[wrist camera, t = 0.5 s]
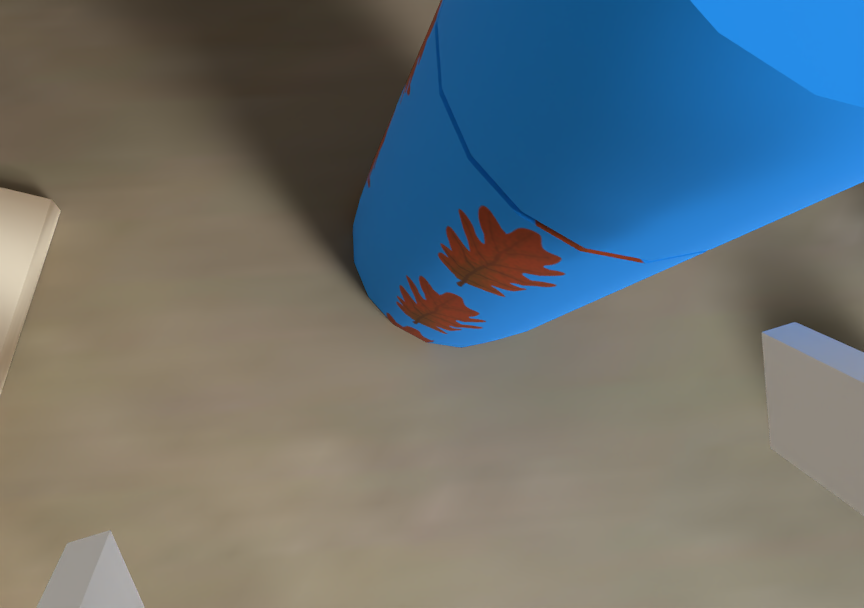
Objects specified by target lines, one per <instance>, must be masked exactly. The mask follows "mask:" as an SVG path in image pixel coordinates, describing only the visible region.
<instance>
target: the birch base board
mask: <svg viewBox="0 0 864 608" xmlns="http://www.w3.org/2000/svg"><path fill="white" fill-rule="evenodd" d="M60 212H61V211H60V209H59V208H58V207H57V206H56V204H55V203H54V202H53V200H51V199H47V198H43V197H39V196H35V195H31V194H26V193H22V192H18V191H14V190H10V189H5V188H1V187H0V395H1V392H2V389H3V386H4V383H5V380H6V377H7V374H8V371H9V368H10V365H11V362H12V359H13V355H14V352H15V349H16V346H17V343H18V340H19V337H20V334H21V331H22V328H23V325H24V322H25V319H26V316H27V313H28V310H29V307H30V304H31V301H32V298H33V294H34V291H35V288H36V285H37V282H38V279H39V276H40V273H41V270H42V267H43V264H44V261H45V258H46V255H47V252H48V249H49V246H50V243H51V240H52V236H53V233H54V230H55V227H56V224H57V221H58V218H59V215H60Z"/></svg>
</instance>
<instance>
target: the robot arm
mask: <svg viewBox="0 0 864 608" xmlns="http://www.w3.org/2000/svg"><path fill="white" fill-rule="evenodd" d="M762 344H763V358H764V371H765V384H766V397H767V411H768V424H769V437H770V448H771V449H772V450H774V451H775V452H777V453H778V454H779V455H781V456H782V457H783V458H785V459H786V460H788V461H789V462H790V463H792V464H793V465H794V466H796V467H797V468H799V469H800V470H801V471H803V472H804V473H805V474H807V475H808V476H810V477H811V478H812V479H814V480H815V481H816V482H818V483H819V484H821V485H822V486H823V487H825V488H826V489H827V490H829V491H830V492H832V493H833V494H834V495H836V496H837V497H838V498H840V499H841V500H843V501H844V502H845V503H847V504H848V505H849V506H851V507H852V508H854V509H855V510H856V511H858V512H859V513H860V514H862V515H863V516H864V352H862V351H859V350H857V349H855V348H853V347H850V346H848V345H846V344H844V343H841V342H839V341H837V340H835V339H832V338H830V337H828V336H826V335H823V334H821V333H819V332H817V331H814V330H812V329H810V328H808V327H805V326H803V325H801V324H799V323H796V322H793V323H790V324H787V325H783V326H780V327H777V328H773V329H770V330H767V331H764V332H762ZM36 608H145V607H144V605H143V602H142V600H141V598H140V596H139V593H138V591H137V589H136V587H135V584H134V582H133V580H132V578H131V575H130V573H129V571H128V569H127V566H126V564H125V562H124V560H123V557H122V555H121V553H120V551H119V548H118V546H117V544H116V542H115V539H114V537H113V535H112V533H111V530H109V531H105V532H102V533H99V534H96V535H92V536H89V537H86V538H82V539H79V540H76V541H73V542H69V543H67V545H66V547H65V549H64V551H63V553H62V555H61V557H60V559H59V561H58V564H57V566H56V568H55V570H54V572H53V574H52V576H51V578H50V580H49V582H48V584H47V586H46V589H45V591H44V593H43V595H42V597H41V599H40V601H39V603H38V605H37V607H36Z"/></svg>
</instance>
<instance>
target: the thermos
mask: <svg viewBox="0 0 864 608" xmlns="http://www.w3.org/2000/svg"><path fill="white" fill-rule="evenodd" d="M862 182H864V0H441V2H440V4H439V6H438V9H437V11H436V13H435V16H434V18H433V21H432V23H431V25H430V28H429V30H428V32H427V35H426V37H425V39H424V42H423V44H422V47H421V49H420V51H419V54H418V56H417V58H416V61H415V63H414V65H413V68H412V70H411V72H410V75H409V77H408V80H407V82H406V84H405V87H404V89H403V91H402V94H401V96H400V98H399V101H398V103H397V106H396V108H395V110H394V113H393V115H392V117H391V120H390V122H389V124H388V127H387V129H386V132H385V134H384V136H383V139H382V141H381V143H380V146H379V148H378V150H377V153H376V155H375V158H374V160H373V162H372V165H371V168H370V171H369V174H368V177H367V180H366V183H365V186H364V189H363V192H362V195H361V198H360V201H359V205H358V209H357V212H356V216H355V220H354V224H353V246H354V263H355V266H356V268H357V270H358V273H359V275H360V278H361V280H362V282H363V285H364V287H365V290H366V292H367V294H368V297H369V298H370V299H371V300H372V301H373V302H374V303H375V304H376V306H377V307H378V308H379V309H380V310H381V311H382V312H383V313H384V314H385V316H386V317H387V318H388V319H389V320H390V321H391V322H392V323H393V324H394V325H395V326H397V327H399V328H401V329H403V330H405V331H406V332H408V333H410V334H412V335H414V336H416V337H418V338H419V339H421V340H423V341H425V342H428V343H435V344H442V345H448V346H455V347H461V348H462V347H467V346H471V345H476V344H481V343H485V342H490V341H495V340H498V339H502V338H505V337H509V336H512V335H516V334H519V333H522V332H526V331H528V330H530V329H533V328H535V327H537V326H539V325H542V324H544V323H546V322H548V321H551V320H553V319H555V318H557V317H560V316H562V315H564V314H566V313H569V312H571V311H573V310H575V309H578V308H580V307H582V306H584V305H587V304H589V303H591V302H593V301H596V300H598V299H600V298H602V297H605V296H607V295H609V294H611V293H614V292H616V291H618V290H620V289H623V288H625V287H627V286H629V285H632V284H634V283H636V282H638V281H641V280H643V279H645V278H647V277H650V276H652V275H654V274H656V273H659V272H661V271H663V270H666V269H668V268H670V267H672V266H675V265H677V264H679V263H681V262H684V261H686V260H688V259H690V258H693V257H695V256H697V255H699V254H702V253H704V252H706V251H707V250H710V249H713V248H715V247H717V246H720V245H722V244H724V243H726V242H729V241H731V240H733V239H735V238H738V237H740V236H742V235H744V234H747V233H749V232H751V231H753V230H756V229H758V228H760V227H762V226H765V225H767V224H769V223H771V222H774V221H776V220H778V219H780V218H783V217H785V216H787V215H789V214H792V213H794V212H796V211H798V210H801V209H803V208H805V207H807V206H810V205H812V204H814V203H816V202H819V201H821V200H823V199H825V198H828V197H830V196H832V195H834V194H837V193H839V192H841V191H843V190H846V189H848V188H850V187H853V186H855V185H857V184H859V183H862Z"/></svg>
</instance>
